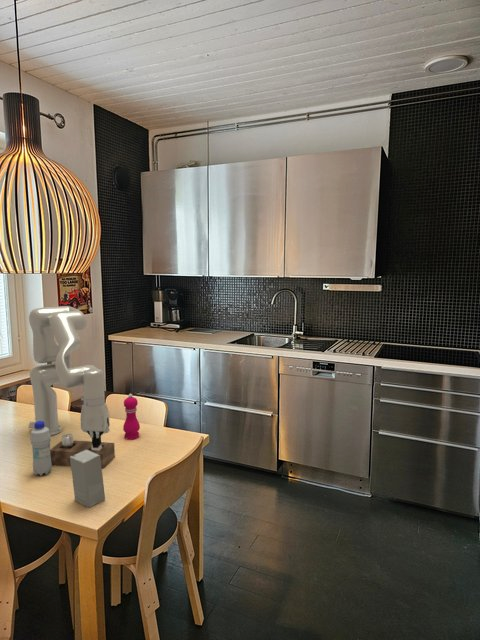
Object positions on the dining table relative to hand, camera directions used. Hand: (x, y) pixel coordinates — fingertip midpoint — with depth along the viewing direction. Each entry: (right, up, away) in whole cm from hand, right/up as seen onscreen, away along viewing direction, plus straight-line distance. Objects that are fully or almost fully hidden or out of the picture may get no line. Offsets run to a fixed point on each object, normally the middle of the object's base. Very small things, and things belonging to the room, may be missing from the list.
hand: (96, 446), depth 164 cm
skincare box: (+6, -10, -26) cm, 29 cm away
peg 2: (0, -6, +1) cm, 6 cm away
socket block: (-6, -6, +2) cm, 9 cm away
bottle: (-18, -8, -8) cm, 21 cm away
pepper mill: (+7, -4, +25) cm, 26 cm away
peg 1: (-12, -2, +2) cm, 12 cm away
